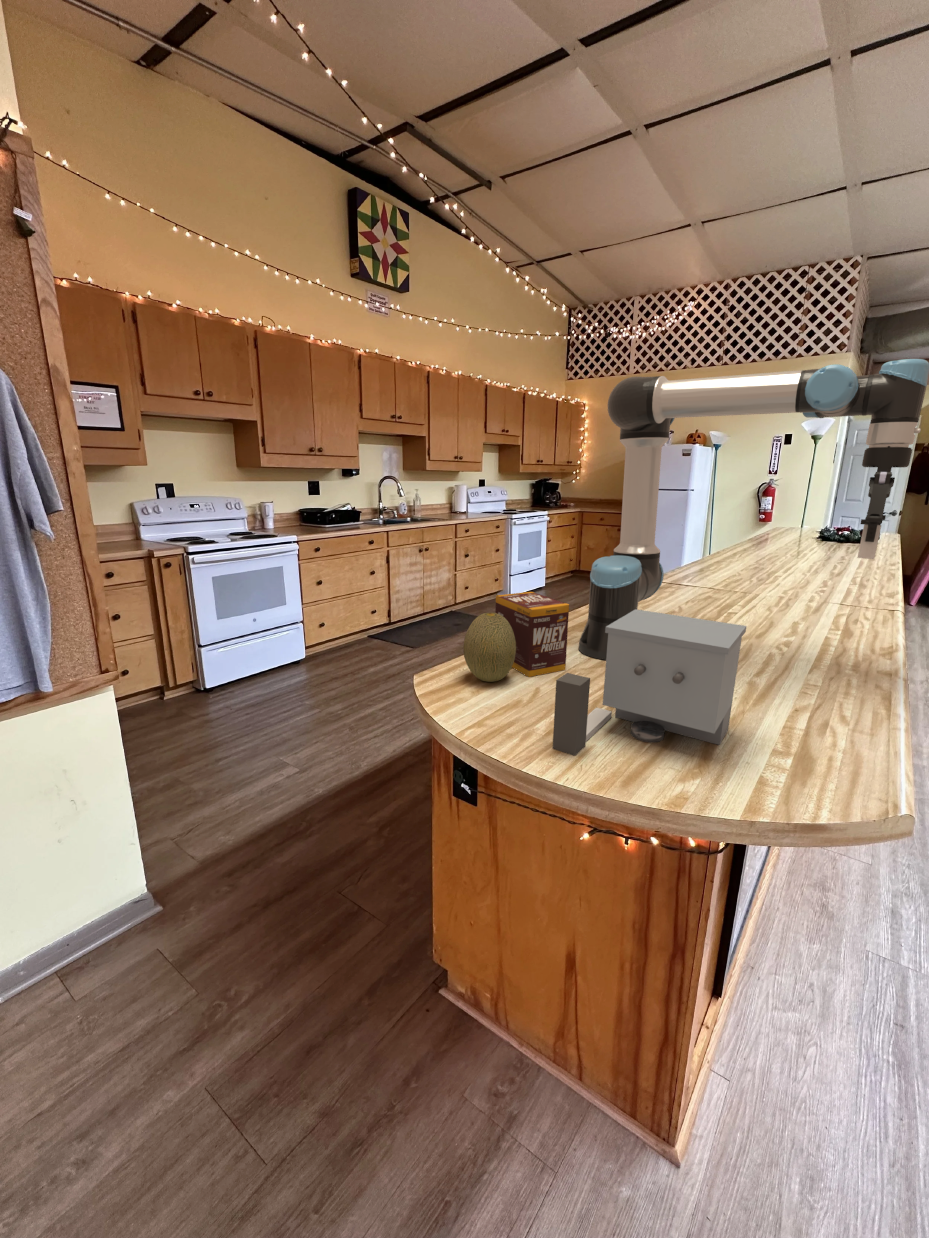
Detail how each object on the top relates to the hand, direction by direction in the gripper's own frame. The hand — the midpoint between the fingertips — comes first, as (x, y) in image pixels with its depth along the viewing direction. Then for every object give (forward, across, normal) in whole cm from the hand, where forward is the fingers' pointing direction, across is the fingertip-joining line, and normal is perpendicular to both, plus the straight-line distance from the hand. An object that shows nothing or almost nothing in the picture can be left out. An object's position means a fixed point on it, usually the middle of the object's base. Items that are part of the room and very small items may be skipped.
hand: (866, 554), depth 112 cm
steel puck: (+28, -52, +25) cm, 64 cm away
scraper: (+28, -58, +34) cm, 73 cm away
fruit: (+28, -47, +61) cm, 82 cm away
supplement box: (+28, -33, +60) cm, 74 cm away
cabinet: (+28, -48, +23) cm, 61 cm away
